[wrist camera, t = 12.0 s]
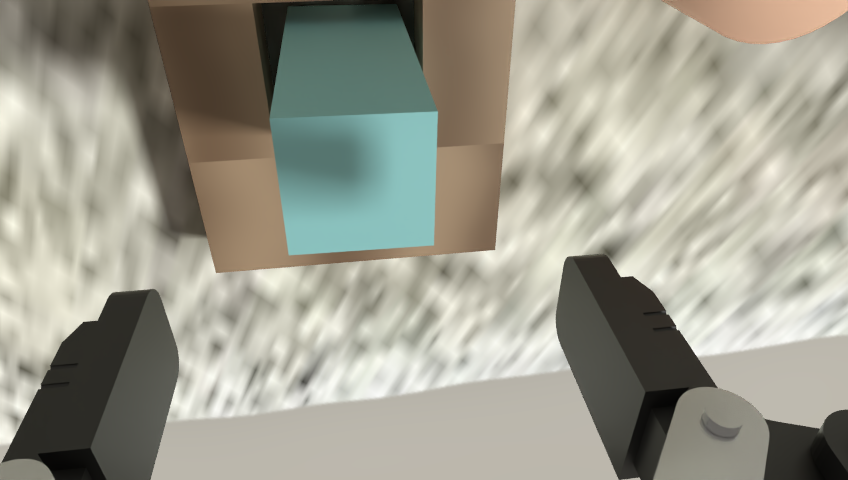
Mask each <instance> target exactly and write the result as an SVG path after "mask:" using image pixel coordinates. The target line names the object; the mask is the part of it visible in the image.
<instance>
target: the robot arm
mask: <svg viewBox="0 0 848 480" xmlns="http://www.w3.org/2000/svg"><path fill="white" fill-rule="evenodd" d="M556 328H557V334H558V339H559V342H560V344H561V347H562V349H563V351H564V354H565V356H566V358H567V361H568V363H569V365H570V368H571V370H572V372H573V375H574V377H575V379H576V382H577V384H578V386H579V389H580V391H581V393H582V395H583V398H584V400H585V402H586V405H587V407H588V409H589V411H590V414H591V416H592V419H593V421H594V423H595V425H596V428H597V430H598V433H599V435H600V437H601V439H602V442H603V444H604V446H605V449H606V451H607V453H608V456H609V458H610V460H611V463H612V465H613V467H614V470H615V472H616V474H617V477H618V479H619V480H621V479H630V478H638V477H640V479H641V480H848V410H840V411H837V412H834V413H832V414H831V415H829V416H828V417H827V418H826V419H825V421H824V423H823V425H822V426H821V428H820V429H818V428H811V427H806V426H800V425H794V424H788V423H782V422H776V421H771V420H766V419H764V418H763V416H762V415H761V413H760V412H759V411H758V410H757V409H756V408H755V407H754V406H753V405H752V404H750V403H749V402H748V401H746V400H745V399H743V398H742V397H740V396H738V395H736V394H734V393H732V392H729V391H726V390H723V389H719V388H718V387H717V386H716V385H715V383H714V382H713V380H712V379H711V377H710V376H709V374H708V373H707V371H706V370H705V368H704V367H703V365H702V364H701V362H700V361H699V359H698V358H697V356H696V355H695V353H694V352H693V350H692V349H691V347H690V346H689V344H688V343H687V341H686V340H685V338H684V337H683V335H682V334H681V332H680V331H679V330H677V329H676V325H675V323H674V322H673V321H672V319H671V318H670V316H669V315H666V310H665V309H664V307H663V306H662V304H661V303H660V301H659V300H658V298H657V297H656V295H655V294H654V292H653V291H651V290H650V289H649V288H647V287H646V286H645V285H643V284H642V283H641V282H639V281H638V280H637V279H635V278H634V277H633V276H631V277H620V275H619V274H618V272H617V270H616V269H615V267H614V266H613V264H612V262H611V261H610V259H609V258H608V256H606V255H605V254H595V255H583V256H571V257H567V258H566V260H565V262H564V267H563V273H562V279H561V285H560V292H559V298H558V304H557V311H556ZM50 366H51V370H48V371H47V373H46V375H45V377H44V379H43V381H42V383H41V389H38V391H37V393H36V395H35V397H34V399H33V401H32V403H31V405H30V407H29V409H28V411H27V413H26V415H25V417H24V419H23V421H22V423H21V425H20V427H19V429H18V431H17V433H16V435H15V437H14V439H13V441H12V443H11V445H10V447H9V449H8V451H7V453H6V455H5V457H4V459H3V461H2V463H0V480H150V479H151V475H152V472H153V468H154V464H155V460H156V457H157V453H158V449H159V446H160V442H161V438H162V434H163V430H164V427H165V423H166V419H167V416H168V412H169V408H170V405H171V401H172V397H173V393H174V390H175V386H176V382H177V378H178V371H179V357H178V350H177V346H176V342H175V339H174V336H173V333H172V330H171V327H170V324H169V321H168V318H167V315H166V312H165V309H164V306H163V303H162V300H161V298H160V295H159V293H158V292H157V291H156V290H155V289H150V290H138V291H125V292H114V293H112V294H111V295H110V296H109V297H108V299H107V302H106V304H105V306H104V308H103V310H102V313H101V315H100V317H99V319H98V321H90V322H83V323H82V324H81V325H80V326H79V327H78V328H77V329H76V330H75V331H74V332H73V333H72V334H71V335H70V336H69V337H67V338H66V339H65V340H64V341H63V342H62V344H61V346H60V348H59V350H58V352H57V354H56V356H55V358H54V359H53V361H52V363H51V365H50Z"/></svg>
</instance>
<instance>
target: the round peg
mask: <svg viewBox="0 0 848 480" xmlns="http://www.w3.org/2000/svg"><path fill="white" fill-rule="evenodd" d="M661 1H663V2H665V3H667V4H668V5H670V6H672V7H674V8H675V9H677V10H679V11H681V12H682V13H684V14H686V15H688V16H689V17H691V18H693V19H695V20H697V21H698V22H700V23H702V24H704V25H705V26H707V27H709V28H711V29H712V30H714V31H716V32H718V33H719V34H721V35H723V36H725V37H727V38H730V39H733V40H736V41H739V42H745V43H751V44H768V43H777V42H782V41H786V40H790V39H795V38H797V37H800V36H803V35H805V34H808V33H811V32H813V31H815V30H817V29H819V28H821V27H823V26H825V25H826V24H828V23H830V22H831V21H833V20H835V19H836V18H838V17H839V16H841V15H842V14H844V13H845V12H846V11H848V0H661Z"/></svg>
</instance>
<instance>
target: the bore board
mask: <svg viewBox="0 0 848 480" xmlns="http://www.w3.org/2000/svg"><path fill="white" fill-rule="evenodd" d="M303 1H331V0H148V4H149V8H150V12H151V16H152V20H153V24H154V28H155V32H156V36H157V40H158V44H159V48H160V52H161V56H162V60H163V64H164V68H165V72H166V76H167V80H168V84H169V88H170V92H171V96H172V100H173V103H174V107H175V111H176V115H177V119H178V123H179V127H180V131H181V135H182V139H183V143H184V147H185V151H186V155H187V159H188V163H189V167H190V171H191V175H192V179H193V183H194V187H195V191H196V195H197V199H198V203H199V207H200V211H201V215H202V219H203V223H204V227H205V231H206V235H207V239H208V243H209V247H210V251H211V255H212V259H213V263H214V266H215V270H216V273H221V272H234V271H246V270H258V269H270V268H282V267H294V266H306V265H318V264H330V263H342V262H354V261H366V260H379V259H391V258H403V257H415V256H427V255H439V254H451V253H463V252H475V251H487V250H495V243H496V231H497V219H498V207H499V195H500V183H501V170H502V158H503V146H504V134H505V122H506V110H507V98H508V85H509V73H510V61H511V49H512V37H513V25H514V13H515V1H516V0H414V51H415V53H416V56H417V59H418V61H419V64H420V66H421V69H422V72H423V74H424V77H425V79H426V82H427V85H428V87H429V90H430V92H431V95H432V98H433V100H434V103H435V105H436V108H437V111H438V124H437V158H436V192H435V226H434V245H433V246H418V247H404V248H389V249H375V250H360V251H346V252H331V253H317V254H302V255H289V254H288V247H287V239H286V232H285V225H284V218H283V211H282V204H281V197H280V190H279V183H278V176H277V169H276V162H275V154H274V147H273V140H272V133H271V126H270V119H269V118H270V112H271V106H272V100H273V94H274V87H273V81H272V74H271V67H270V61H269V54H268V47H267V40H266V34H265V27H264V20H263V14H262V7H261V3H275V2H303Z"/></svg>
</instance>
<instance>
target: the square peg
mask: <svg viewBox="0 0 848 480" xmlns="http://www.w3.org/2000/svg"><path fill="white" fill-rule="evenodd" d="M269 119H270V126H271V133H272V140H273V147H274V154H275V162H276V169H277V176H278V183H279V190H280V197H281V204H282V211H283V218H284V225H285V232H286V239H287V247H288V254H289V255H302V254H317V253H331V252H346V251H360V250H375V249H389V248H404V247H418V246H433V245H434V226H435V192H436V158H437V124H438V111H437V108H436V105H435V103H434V100H433V98H432V95H431V92H430V90H429V87H428V85H427V82H426V79H425V77H424V74H423V72H422V69H421V66H420V64H419V61H418V59H417V56H416V53H415V51H414V48H413V46H412V43H411V40H410V38H409V35H408V33H407V30H406V27H405V25H404V22H403V20H402V17H401V14H400V12H399V9H398V7H397V4H372V5H324V6H288V9H287V15H286V21H285V27H284V33H283V39H282V45H281V51H280V58H279V64H278V70H277V76H276V82H275V88H274V94H273V100H272V106H271V112H270V118H269Z"/></svg>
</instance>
